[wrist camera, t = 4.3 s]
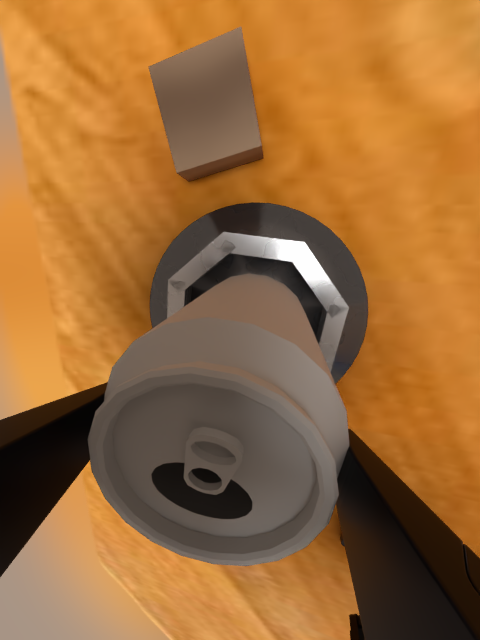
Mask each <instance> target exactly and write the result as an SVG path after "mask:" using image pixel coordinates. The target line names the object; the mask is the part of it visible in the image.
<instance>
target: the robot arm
mask: <svg viewBox="0 0 480 640" xmlns="http://www.w3.org/2000/svg"><path fill="white" fill-rule="evenodd" d="M107 384H108V382H107V383H104V384H101V385H99V386H96V387H93V388H90V389H87V390H84V391H81V392H79V393H76V394H73V395H70V396H67V397H65V398H62V399H59V400H56V401H53V402H50V403H47V404H44V405H42V406H39V407H36V408H33V409H30V410H28V411H25V412H22V413H19V414H16V415H13V416H11V417H7V418H5V419H2V420H0V577H1V576H2V574H3V573H4V572H5V570H6V569H7V568H8V566H9V565H10V564H11V563H12V561H13V560H14V559H15V557H16V556H17V555H18V553H19V552H20V551H21V550H22V548H23V547H24V545H25V544H26V543H27V542H28V540H29V539H30V538H31V536H32V535H33V534H34V533H35V531H36V530H37V529H38V527H39V526H40V525H41V523H42V522H43V520H44V519H45V518H46V517H47V515H48V514H49V513H50V512H51V510H52V509H53V508H54V506H55V505H56V504H57V502H58V501H59V500H60V498H61V497H62V496H63V495H64V493H65V492H66V490H67V489H68V488H69V487H70V485H71V484H72V483H73V481H74V480H75V479H76V478H77V476H78V475H79V474H80V472H81V471H82V470H83V468H84V467H85V466H86V464H87V463H88V462H89V460H90V454H89V446H88V436H89V433H90V429H91V426H92V422H93V419H94V415H95V411H96V410H97V409H98V408H99V407H100V406H101V404H102V403H103V402H104V396H105V391H106V388H107ZM348 434H349V445H350V446H349V447H348V450H347V453H346V456H345V459H344V461H343V464H342V467H341V470H340V473H339V476H338V478H337V483H338V492H339V495H338V498H337V501H336V506H337V512H338V517H339V521H340V526H341V531H342V535H341V537H340V539H341V544H342V545H343V546H345V549H346V554H347V558H348V563H349V568H350V572H351V577H352V582H353V586H354V591H355V596H356V600H357V605H358V610H359V614H360V615H357V614H351V615H349V617H350V627H351V630H350V638H351V640H480V558H479V557H478V556H477V555H476V554H475V553H474V552H473V551H472V550H471V549H470V548H469V547H468V546H467V545H465V544H463V542H462V540H461V539H460V538H459V537H458V536H457V535H456V534H455V533H454V532H453V531H452V530H451V529H450V528H449V527H448V526H447V525H446V524H445V523H444V522H443V521H442V520H441V519H440V518H439V517H438V516H437V515H436V514H435V513H434V512H433V511H432V510H431V509H430V508H429V507H428V506H427V505H426V504H425V503H424V502H423V501H422V500H421V499H420V498H419V497H418V496H417V495H416V494H415V493H414V492H413V491H412V490H411V489H410V488H409V487H408V486H407V485H406V484H405V483H404V482H403V481H402V480H401V479H400V478H399V477H398V476H397V475H396V474H395V473H394V472H393V471H392V470H391V469H390V468H389V467H388V466H387V465H386V464H385V463H384V462H383V461H382V460H381V459H380V458H379V457H378V456H377V455H376V454H375V453H374V452H373V451H372V450H371V449H370V448H369V447H368V446H367V445H366V444H365V443H364V442H363V441H362V440H361V439H360V438H359V437H358V436H357V435H356V434H355V433H354V432H353V431H352V430H351V429H348Z"/></svg>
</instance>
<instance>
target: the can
mask: <svg viewBox="0 0 480 640" xmlns="http://www.w3.org/2000/svg"><path fill="white" fill-rule="evenodd" d="M88 446H89V454H90V462H91V469H92V473H93V475H94V477H95V479H96V481H97V483H98V485H99V487H100V489H101V491H102V493H103V495H104V497H105V499H106V500H107V501H108V502H109V503H110V505H111V506H112V507H113V508H114V509H115V510H116V512H117V513H118V514H119V515H120V516H121V517H122V519H123V520H124V521H125V522H126V523H128V524H129V525H130V526H132V527H133V528H134V529H136V530H137V531H138V532H140V533H141V534H142V535H144V536H145V537H146V538H148V539H149V540H150V541H152V542H154V543H156V544H158V545H160V546H162V547H164V548H167V549H169V550H171V551H173V552H175V553H177V554H179V555H181V556H185V557H189V558H192V559H196V560H200V561H204V562H208V563H211V564H221V565H238V566H249V565H255V564H261V563H267V562H273V561H278V560H280V559H282V558H284V557H286V556H289V555H291V554H293V553H295V552H297V551H299V550H301V549H303V548H305V547H306V546H307V545H308V544H309V543H310V542H311V541H312V540H313V539H314V538H315V537H316V536H317V535H318V534H319V533H320V532H321V531H322V530H323V529H324V528H325V527H326V526H327V525H328V524H329V521H330V518H331V516H332V513H333V510H334V507H335V504H336V501H337V498H338V495H339V492H338V483H337V478H338V476H339V473H340V470H341V467H342V464H343V461H344V459H345V456H346V453H347V450H348V447H349V446H350V445H349V434H348V423H347V412H346V408H345V406H344V404H343V401H342V399H341V397H340V394H339V392H338V389H337V387H336V385H335V382H334V380H333V378H332V375H331V373H330V370H329V368H328V366H327V363H326V361H325V358H324V356H323V354H322V351H321V349H320V347H319V344H318V342H317V339H316V337H315V335H314V332H313V330H312V328H311V325H310V323H309V320H308V318H307V316H306V313H305V311H304V309H303V307H302V305H301V303H300V301H299V299H298V297H297V296H296V295H295V294H294V293H293V292H292V291H291V290H290V289H289V288H288V287H287V286H286V285H284V284H283V283H281V282H279V281H277V280H275V279H273V278H271V277H268V276H264V275H257V274H249V273H248V274H243V275H238V276H232V277H229V278H228V279H226V280H224V281H222V282H221V283H219V284H217V285H215V286H214V287H212V288H211V289H209V290H208V291H207V292H205V293H204V294H202V295H201V296H199V297H198V298H196V299H195V300H193V301H192V302H190V303H189V304H188V305H186V306H185V307H183V308H182V309H180V310H179V311H177V312H176V313H174V314H173V315H171V316H170V317H169V318H167V319H166V320H164V321H163V322H161V323H160V324H158V325H157V326H155V327H154V328H153V329H151V330H150V331H148V332H147V333H145V334H144V335H142V336H141V337H139V338H138V339H136V340H135V341H134V342H133V343H132V344H131V345H130V346H129V348H128V349H127V350H126V351H125V352H124V354H123V355H122V356H121V357H120V359H119V360H118V361H117V362H116V364H115V365H114V366H113V367H112V371H111V374H110V377H109V381H108V384H107V388H106V391H105V396H104V402H103V403H102V404H101V406H100V407H99V408H98V409H97V410H96V411H95V415H94V419H93V422H92V426H91V429H90V433H89V436H88Z"/></svg>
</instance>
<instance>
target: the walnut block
mask: <svg viewBox="0 0 480 640" xmlns="http://www.w3.org/2000/svg"><path fill="white" fill-rule="evenodd" d="M149 71H150V74H151V78H152V82H153V86H154V90H155V93H156V97H157V101H158V105H159V108H160V112H161V116H162V120H163V123H164V127H165V131H166V135H167V138H168V142H169V146H170V150H171V154H172V157H173V161H174V165H175V169H176V172H177V174H179V175H180V176H182V177H183V178H184V179H186V180H187V181H192V180H195V179H198V178H201V177H205V176H208V175H211V174H214V173H217V172H221V171H224V170H227V169H230V168H233V167H237V166H240V165H243V164H246V163H250V162H253V161H256V160H259V159H262V158H263V151H262V145H261V139H260V133H259V127H258V121H257V116H256V110H255V104H254V98H253V92H252V87H251V81H250V75H249V69H248V63H247V57H246V52H245V46H244V40H243V34H242V28H241V27H239V28H237V29H234V30H232V31H230V32H228V33H225V34H223V35H221V36H218V37H216V38H214V39H211V40H209V41H207V42H204V43H202V44H200V45H198V46H195V47H193V48H191V49H188V50H186V51H184V52H181V53H179V54H177V55H174V56H172V57H170V58H168V59H165V60H163V61H161V62H158V63H156V64H154V65H151V66H149Z"/></svg>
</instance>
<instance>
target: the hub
mask: <svg viewBox="0 0 480 640" xmlns="http://www.w3.org/2000/svg"><path fill="white" fill-rule="evenodd" d="M248 273H249V274H257V275H264V276H268V277H271V278H273V279H275V280H277V281H279V282H281V283H283V284H284V285H286V286H287V287H288V288H289V289H290V290H291V291H292V292H293V293H294V294H295V295H296V296H297V297H298V299H299V301H300V303H301V305H302V307H303V309H304V311H305V313H306V316H307V318H308V320H309V323H310V325H311V328H312V330H313V332H314V335H315V337H316V339H317V342H318V344H319V347H320V349H321V351H322V354H323V356H324V358H325V361H326V363H327V366H328V368H329V370H330V373H331V375H332V378H333V380H334V382H335V383H336V382H337V381H338V380H339V379H340V378H341V377H342V376H343V375H344V374H345V373H346V371H347V370H348V369H349V368H350V366H351V365H352V363H353V361H354V360H355V358H356V356H357V354H358V352H359V350H360V347H361V345H362V342H363V340H364V336H365V331H366V327H367V318H368V300H367V293H366V288H365V283H364V280H363V277H362V274H361V272H360V269H359V267H358V265H357V263H356V261H355V259H354V257H353V256H352V254H351V252H350V251H349V250H348V248H347V247H346V246H345V244H344V243H343V242H342V241H341V240H340V239H339V238H338V237H337V236H336V235H335V234H334V233H333V232H332V231H331V230H330V229H329V228H327V227H326V226H325V225H323V224H322V223H321V222H319V221H318V220H316V219H314V218H313V217H311V216H309V215H307V214H305V213H303V212H301V211H298V210H295V209H292V208H289V207H286V206H281V205H276V204H271V203H244V204H236V205H232V206H228V207H224V208H221V209H218V210H216V211H213V212H211V213H208V214H206V215H205V216H203V217H201V218H200V219H198V220H196V221H195V222H193V223H192V224H191V225H189V226H188V227H187V228H186V229H184V230H183V231H182V232H181V233H180V234H179V235H178V236H177V237H176V238H175V239H174V241H173V242H172V243H171V244H170V246H169V247H168V249H167V250H166V252H165V253H164V255H163V257H162V259H161V261H160V263H159V265H158V267H157V270H156V272H155V275H154V278H153V283H152V288H151V295H150V315H151V322H152V327H153V328H154V327H155V326H157V325H158V324H160V323H161V322H163V321H164V320H166V319H167V318H169V317H170V316H171V315H173V314H174V313H176V312H177V311H179V310H180V309H182V308H183V307H185V306H186V305H188V304H189V303H190V302H192V301H193V300H195V299H196V298H198V297H199V296H201V295H202V294H204V293H205V292H207V291H208V290H209V289H211V288H212V287H214V286H215V285H217V284H219V283H221V282H222V281H224V280H226V279H228V278H229V277H232V276H238V275H243V274H248Z"/></svg>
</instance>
